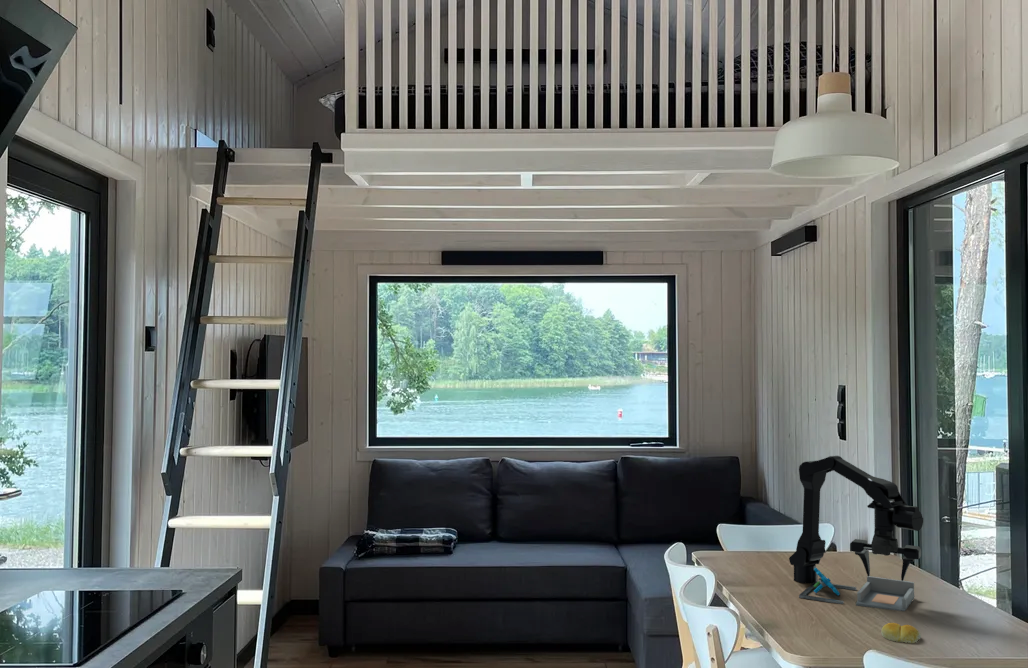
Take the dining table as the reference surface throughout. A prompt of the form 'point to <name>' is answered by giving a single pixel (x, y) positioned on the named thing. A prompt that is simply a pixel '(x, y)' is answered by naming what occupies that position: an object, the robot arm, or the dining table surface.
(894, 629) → the bread roll
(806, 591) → the frame
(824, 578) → the gear
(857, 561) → the dining table surface
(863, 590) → the grey open tray
